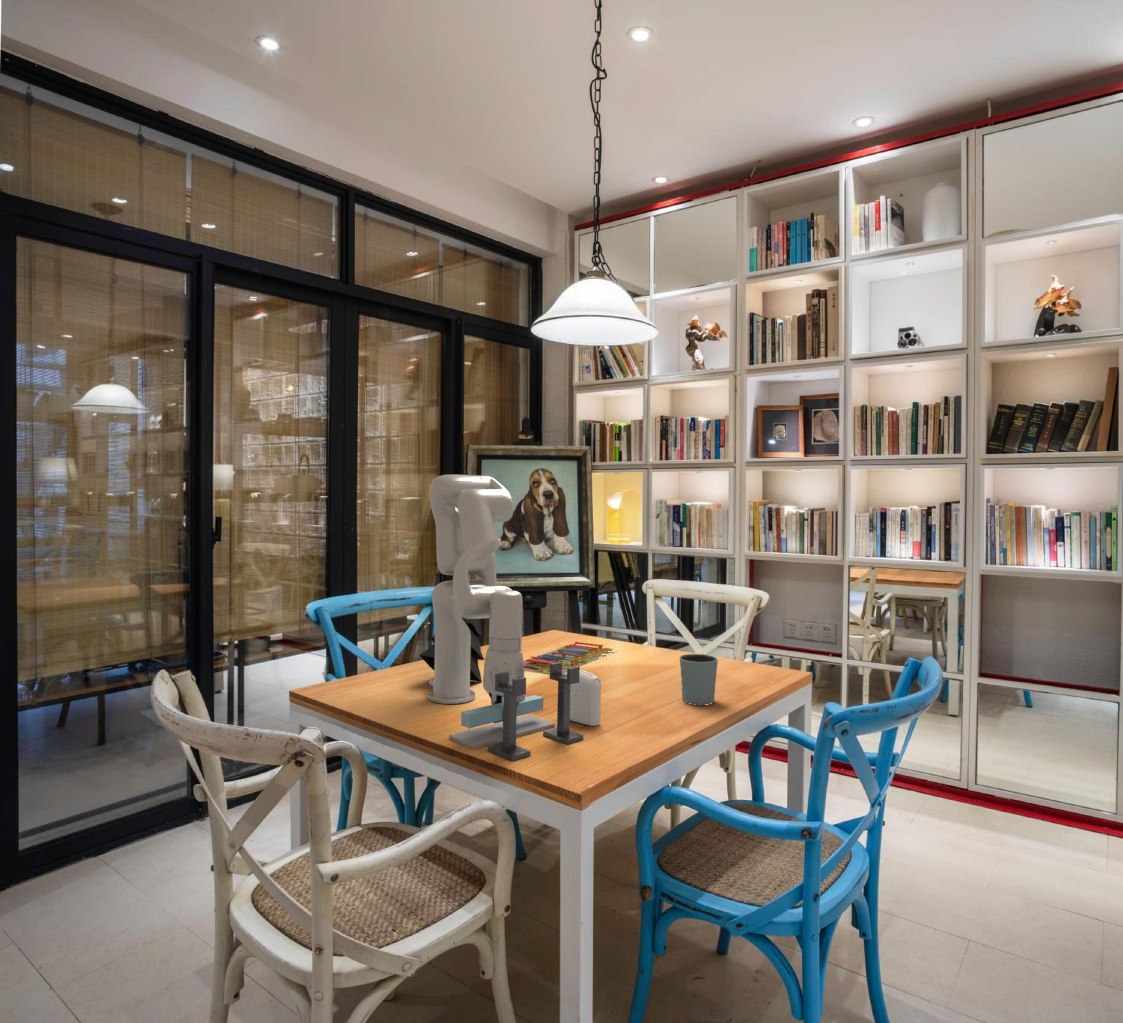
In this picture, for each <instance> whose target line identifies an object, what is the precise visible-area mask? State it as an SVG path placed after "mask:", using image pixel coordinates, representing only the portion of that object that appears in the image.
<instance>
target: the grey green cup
mask: <svg viewBox="0 0 1123 1023" xmlns="http://www.w3.org/2000/svg"><path fill="white" fill-rule="evenodd" d="M718 662H719V659H718V658H717V657H716V656H714V655H709V654H704V653H690V654H689V653H687V654H683V655H680V656H679V667H680V678H681V680H680V681H681V699H682V702H683V701H684V702H686V703H685V704H687V703H691V704H696V705H705V704H710V703H713V702H714V703H715V695H716V694H715V693H716V682H717V670H718ZM684 702H683V703H684ZM714 703H713V704H714ZM696 705H695V706H696Z"/></svg>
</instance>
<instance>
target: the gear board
mask: <svg viewBox="0 0 1123 1023" xmlns="http://www.w3.org/2000/svg"><path fill="white" fill-rule="evenodd" d="M612 650H613V648H611V647H604V645H603V644H597V643H589V642H588V643H587V642H580V641H579V642H578V641H574V643H573V644H568V645H567V644H566V645H564V646H561V647H560V648H556V649H554V650H552V651H549V652H545V653H542V654H539V655H537V656H533V655H531V656H530V657H529V658H528V659H525V660H523V662H524V672H530V673H536V674H543V675H549V676H550V664H551V663H556V662H562V674H566V672H567V668H570V667H575V666H578V667H582V665H583V666H585V665H588V664H590V663H592V661H593V662H595V661H598V660H600V659H599V657H601V656H602V657H603V658H605V657H607V656H606V655H601V654H603V653H604V654H609V653H613V654H615V653H614V652H608V651H612ZM604 656H605V657H604ZM597 659H598V660H597ZM594 660H595V661H594ZM589 662H590V663H589ZM587 663H588V664H587Z"/></svg>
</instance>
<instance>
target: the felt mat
mask: <svg viewBox="0 0 1123 1023" xmlns="http://www.w3.org/2000/svg"><path fill="white" fill-rule="evenodd" d="M555 725H556V723H555V722H551V721H548V720H545V719H543V718H540V717H537V716H534V715H531V714H526V715H522V716H518V717H516V738H520V737H522V736H526V735H530V734H533V733H536V732H537V733H538V732H540V731H546V730H549V729H553V728H556V726H555ZM449 740H451V741H454V742H456V743H458V744H461V745H463V746H465V747H469V748H471V749H473V750H475V749H479V748H482V747H487V746H491V745H495V744H499V743H502V742H503V721H502V722H498V723H491V724H489V725H488V724H487V725H485V726H484V725H483V726H479V727H475V728H471V729H469V730H465V731H461V732H460V731H459V732H457V733H453V734H452V733H451V734H450V735H449Z"/></svg>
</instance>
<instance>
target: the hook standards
mask: <svg viewBox="0 0 1123 1023" xmlns="http://www.w3.org/2000/svg"><path fill="white" fill-rule="evenodd" d="M580 667H581V666H580ZM580 667H578V666H575V667H570V668H567V675H566V673H563V674H562V662H556V663H551V664H550V675H549V680H552V681H556V682H557V711H556V712H557V715H556V716H557V719H556V722H557V723H556V727H552V728H548V729H545V730H542V731H543V732H542V736H543V737H546V738H549V739H552V740H554V741H557V742H560V743H561V744H562V743H563V744H566V745H570V744H574V743H576V742H577V743H578V742H580V741H584V734H582V733H578V732H576V731H573V730H570V728H571V727H570V726H571V724H570V721H571V720H570V684H574V683H579V675H580V670H581V669H580ZM495 691H498V692H501V693H504V699H503V721H502V722H503V741H501V742H498V743H494V744H491V745H487V746H488V747H487V751H488V752H489V753H491V754H494V755H497V756H499V757H502V758H504V759H506V760H509V761H511V762H514V761H517V760H521V759H524V758H527V757H530V756H531V750H529V749H527V748H524V747H522V746H519V745H517V737H516V718H518V716H517V696H521V695H524V696H525V695H527V677H526V676H524V677H520V678H516V679H512V685H509V673H508V672H504V673H499V674H495Z"/></svg>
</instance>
